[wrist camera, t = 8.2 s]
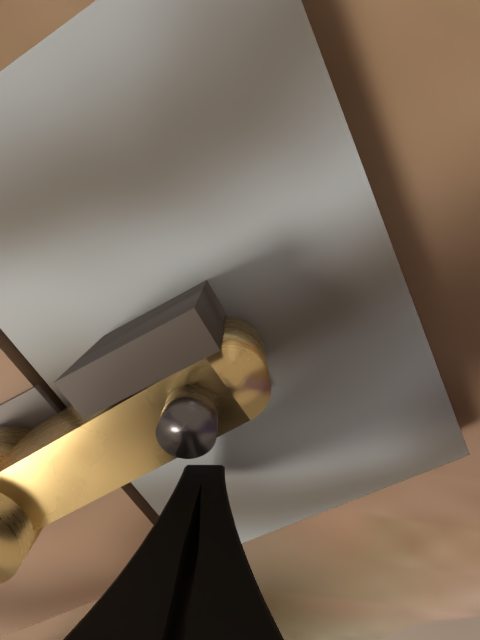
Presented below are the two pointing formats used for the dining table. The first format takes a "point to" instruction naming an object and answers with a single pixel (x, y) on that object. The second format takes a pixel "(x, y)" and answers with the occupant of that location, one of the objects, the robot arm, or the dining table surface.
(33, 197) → the door and jamb
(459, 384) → the dining table surface
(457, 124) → the dining table surface
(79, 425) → the swing bar
